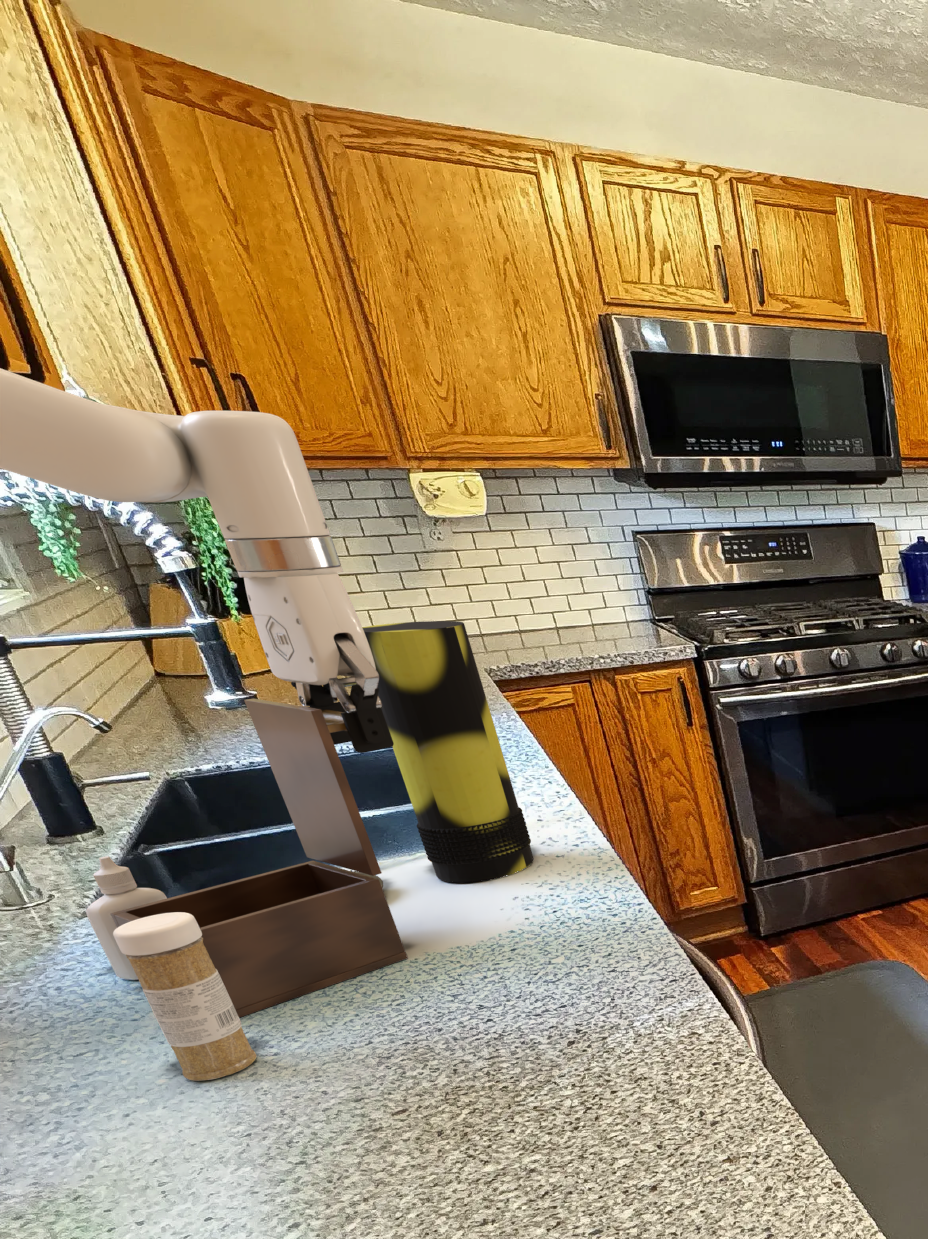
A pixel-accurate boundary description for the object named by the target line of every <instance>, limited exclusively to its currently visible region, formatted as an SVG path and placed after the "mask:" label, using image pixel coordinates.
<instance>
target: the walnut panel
mask: <svg viewBox="0 0 928 1239" xmlns="http://www.w3.org/2000/svg"><path fill="white" fill-rule="evenodd" d="M243 701H244V703H245V706H246V709H247V711H248V714H249V716H250V719H251V721H252V724H253V726H254V729H255V731H256V734H257V736H258V739H259V741H260V744H261V746H262V748H263V751H264V754H265V757H266V759H267V761H268V764H269V766H270V769H271V771H272V773H273V776H274V779H275V781H276V783H277V784H276V785H277V786H278V789H279V791H280V794H281V796H282V799H283V801H284V804H285V806H286V808H287V811H288V813H289V816H290V818H291V821H292V824H293V826H294V828H295V831H296V834H297V836H298V838H299V841H300V844H301V846H302V848H303V851H304V854H305V856H306V858H309V859H312V860H314V861H317V862H321V863H324V864H328V865H332V866H335V867H339V868H342V869H346V870H349V871H354V872H361V873H365V874H368V875H372V876H374V875H376V876H378V875H381V874H382V870H381V867H380V865H379V862H378V859H377V856H376V854H375V852H374V848H373V846H372V843H371V840H370V838H369V837H370V836H369V835H368V832H367V830H366V827H365V824H364V821H363V819H362V816H361V813H360V810H359V808H358V805H357V802H356V800H355V797H354V795H353V792H352V789H351V787H350V784H349V783H350V782H349V781H348V778H347V775H346V772H345V771H344V770H345V769H344V767H343V764H342V761H341V759H340V758H339V753H338V751H337V748H336V746H335V745H334V743H333V740H332V737H331V735H330V733H332V732H337V731H347V729H346V726H345V724H344V721H343V718H342V715H341V713H343V712H338V711H332V710H323V711H321V709H315V708H309V707H310V706H306V707H304V706H303V705H295V704H290V703H283V702H277V701H271V700H264V699H260V698H259V699H258V698H248V699H243Z"/></svg>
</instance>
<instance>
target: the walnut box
mask: <svg viewBox="0 0 928 1239" xmlns="http://www.w3.org/2000/svg"><path fill="white" fill-rule="evenodd" d="M352 871H353V870H349V869H346V868H342V867H339V866H335V865H331V864H328V863H324V862H321V861H317V860H309V861H306V862H302V863H298V864H294V865H291V866H290V865H289V866H286V867H283V868H278V869H274V870H270V871H267V872H263V873H260V874H256V875H252V876H248V877H244V878H240V879H236V880H233V881H229V882H225V883H221V884H217V885H213V886H209V887H206V888H202V889H198V890H194V891H191V892H187V893H182V894H179V895H176V896H172V897H171V896H170V897H167V899H163V900H160V901H156V902H152V903H148V904H144V905H140V906H137V907H133V908H129V909H125V910H121V911H117V912H114V913H110V914H111V917H112V919H113V921H114V923H115V925H116V927H117V928H118V927H119V926H121V925H123V924H125V923H128V922H131V921H134V920H137V919H140V918H144V917H148V916H152V915H158V914H164V913H173V912H184V913H189V914H191V915H193V916H194V918H195V920H196V921H197V924H198V926H199V928H200V930H201V932H202V936H201V937H202V938H203V944H204V946H205V948H206V950H207V952H208V954H209V957H210V959H211V960H212V963H213V965H214V967H215V969H217V971H218V973H219V975H220V977H221V979H222V981H223V984H224V986H225V988H226V990H227V992H228V994H229V997H230V999H231V1001H232V1003H233V1006H234V1008H235V1010H236V1012H237V1015H238V1017H239V1019H240V1018H243V1017H246V1016H248V1015H252V1014H253V1013H256V1012H257V1013H258V1012H260V1011H262V1010H265V1009H269V1008H270V1007H273V1006H276V1005H279V1004H282V1003H285V1002H288V1001H291V1000H293V999H296V998H299V997H302V996H306V995H308V994H311V993H313V992H316V991H320V990H322V989H325V988H327V987H331V986H333V985H336V984H340V983H341V982H345V981H347V980H351V979H353V978H356V977H359V976H362V975H364V974H368V973H370V972H374V971H376V970H379V969H381V968H384V967H387V966H391V965H393V964H396V963H398V962H402V961H405V960H407V959H409V958H408V954H407V953H406V949H405V947H404V944H403V940H402V939H401V936H400V932H399V930H398V928H397V925H396V922H395V919H394V917H393V913H392V911H391V909H390V906H389V903H388V900H387V897H386V896H385V892H384V890H383V888H382V887H381V884H380V881H379V879H376V878H373V877H369V876H366V875H362V874H359V873H355V872H356V871H354V872H352Z"/></svg>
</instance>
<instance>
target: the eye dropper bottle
mask: <svg viewBox="0 0 928 1239" xmlns="http://www.w3.org/2000/svg"><path fill="white" fill-rule="evenodd" d="M98 860H99V866H100V868H99V870H96V871H95V872H94V873H93V874H92V876H93V879H94V881H95V882H96V884H97V886H98V888H99V890H100V892H101V894H102V896H101V897H99V898H97V899H96V900H94V901H93V902H92V903H91V904H89V905H88V907H87V908H86V911H85V913H86V916H87V919H88V921H89V924H90V926H91V927H92V929H93V931H94V934H95V936H96V938H97V940H98V942H99V944H100V946H101V948H102V950H103V952H104V954H105V956H106V958H107V960H108V962H109V964H110V966H111V968H112V970H113V972H114V974H115V976H116V977H117V978H119V979H122V980H128V981H129V980H130V981H137V980H138V981H139V979H138V977H137V975H136V973H135V972H134V969H133V967H132V965H131V963H130V961H129V959H128V958H127V957H126V954H123V953H122V952H121V950H120V948H119V946H118V944H117V942H116V940H115V938H114V935H113V932H114V930H115V929H116V928H117V927H116V925H115V923H114V921H113V919H112V917H111V914H110V913H114V912H117V911H121V910H125V909H129V908H133V907H137V906H140V905H144V904H148V903H152V902H156V901H160V900H163V899H167V898H168V897H167V896H166V894H165V893H164V892H163V891H161V890H159V889H157V888H151V887H138V884H137V883H136V881H135V878H134V877H133V874H132V872H131V870H130V868H129V867H127V866H120V865H118V864H116V863H115V862H114V861H113V859H112V858H111V857H110V856H108V855H105V856H101V857H98Z"/></svg>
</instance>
